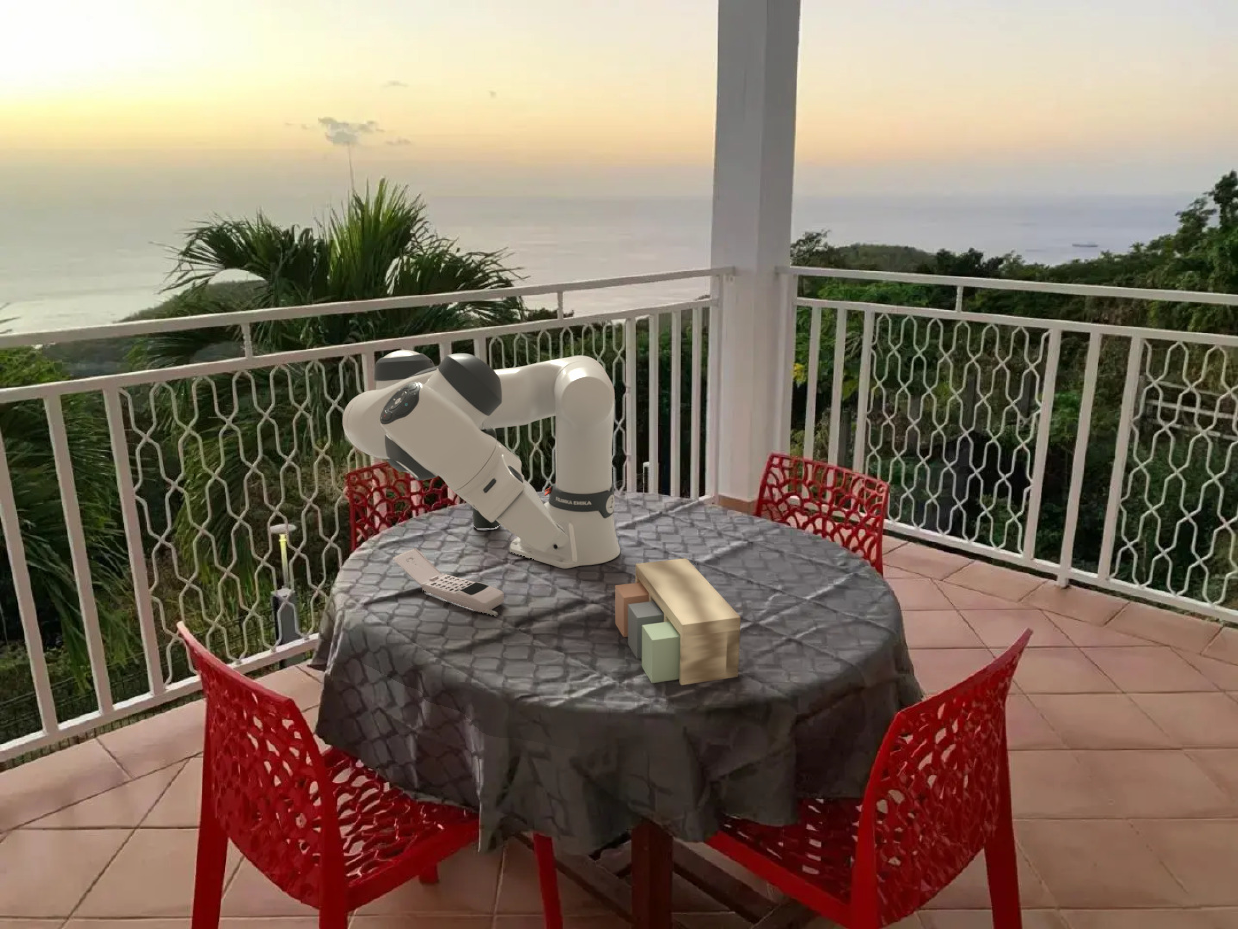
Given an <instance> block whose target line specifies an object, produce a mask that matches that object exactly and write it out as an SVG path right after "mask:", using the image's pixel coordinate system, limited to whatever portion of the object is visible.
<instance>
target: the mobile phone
mask: <svg viewBox="0 0 1238 929" xmlns="http://www.w3.org/2000/svg"><path fill="white" fill-rule="evenodd" d="M392 559H393V561H394V562H395V563H396V564H397V565H398V566H399V567H400V568H401V569H402V570H403V571H404V572H405V573H406V574H407V575H408V576H410V577H411V578H412V579H413V580H414V581H415V582H416V583H417V584H418V585H419V586H420V587H421V589H422V591H423V590H424V591H426V592H428V593H431V594H433V595H437V596H439V597H441V598H443V599H445V600H447V601H451V602H453V603H456V604H459V605H461V606H464V607H468V608H471V609H473V610H475V611H478V612H477V613H481V612H482V614H484V613H487V614H486V615H488V614H490V616H492V615H494V616H493V617H497V616H498V615H499V613H498V612H497V611H495V610H493V609H495V608H496V607H499V606H500V605H502V604H504V603H505V598H504V596H505V595H504V591H503V590H501V589H498V588H496V587H494V586H491V585H488V584H487V583H483V582H479V581H471V580H469V579H464V578H460V577H458V576H457V577H456V576H455V575H454V576H453V575H450V574H446V573H442V572H441V571H440V570H439V569H438V568H437V567H436V566H435V565H433V563H432V562H431V561H430V560H429V559H427V557H426V556H425V555H424V553H422V551H421V550H419V549H418V548H416V547H414V548H412V549H409V550H407V551H404V552H401V553H400V554H398V555H395V556H394V557H392ZM496 615H497V616H496Z"/></svg>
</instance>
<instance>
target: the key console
mask: <svg viewBox="0 0 1238 929" xmlns="http://www.w3.org/2000/svg"><path fill="white" fill-rule="evenodd" d="M634 580H635V582H634V583H639V582H641V583H642V584H643V586H644V587H645V588H646V590H647V591H648V592H649V602H650V601H655V602H656V603H657V604H658V606H659V607H660V608H661V610H662V611H663V612H664V622H671V623H672V624H673V626H674V627H675V628H676V630H677V631H678V632H679V634H680V679H678V680H679V683H678V684H680V685H681V686H684V685H691V684H698V683H699V684H700V683H703V682H704V683H705V682H711V681H719V680H725V679H731V678H737V677H739V666H740V664H739V662H740V644H741V642H740V639H741V616H740V614H738V613H737V612H736V611H735V609H734V608H733V607H732V606H731V605H730V604H729V603H728V602H727V601H726V600H725V598H724V597H723V596H722V595H721V594H720V593H719V592H718V591H717V590H716V589H715V587H713V586H712V584H711V583H709V581H708V580H707V579H706V578H705V577H704V576H703V575H702V573H700V571H699V570H698V569H697V568H696V567H695V565H693V563H692V562H691V561H689V560H688V558H687V557H683V558H676V559H667V560H666V559H665V560H659V561H650V562H641V563H635V579H634Z"/></svg>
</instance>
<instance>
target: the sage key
mask: <svg viewBox="0 0 1238 929" xmlns="http://www.w3.org/2000/svg"><path fill="white" fill-rule="evenodd" d="M641 668H642V669H643V671H644V672H645V674H646V676H647V678H648V679H649V681H650V682H651V684H655V683H661V682H668V681H675V680H676V681H677V680H679V679H680V634H679V632H678V631H677V630H676V628H675V627H674V626H673V624H672V623H671V622H662V623H655V624H647V625H642V658H641Z"/></svg>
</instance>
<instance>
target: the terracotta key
mask: <svg viewBox="0 0 1238 929" xmlns="http://www.w3.org/2000/svg"><path fill="white" fill-rule="evenodd" d="M614 590H615V591H614V595H615V597H614V598H615V600H614V605H615V606H614V607H615V608H614V611H615V613H614V614H615V616H614V618H615V619H614V623H615V626H616V628H618V630H619V632H620V634H621V635H622V637H623V638H626V637H627V638H628V604H634V603H642V602H649V592H648V591H647V590H646V588H645V587H644V586H643V584H642V583H641V582H639V583H635V582H633V583H622V584H617V585H616V584H615V585H614Z"/></svg>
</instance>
